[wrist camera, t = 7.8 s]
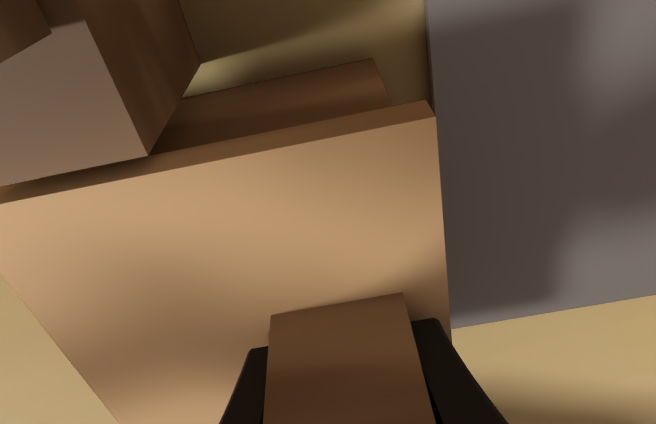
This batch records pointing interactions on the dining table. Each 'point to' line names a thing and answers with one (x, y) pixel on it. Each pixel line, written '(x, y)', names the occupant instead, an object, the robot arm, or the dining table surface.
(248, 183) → the lid
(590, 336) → the dining table surface
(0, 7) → the block with round knob
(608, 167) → the mat
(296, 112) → the brown wooden open box
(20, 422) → the dining table surface
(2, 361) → the dining table surface
